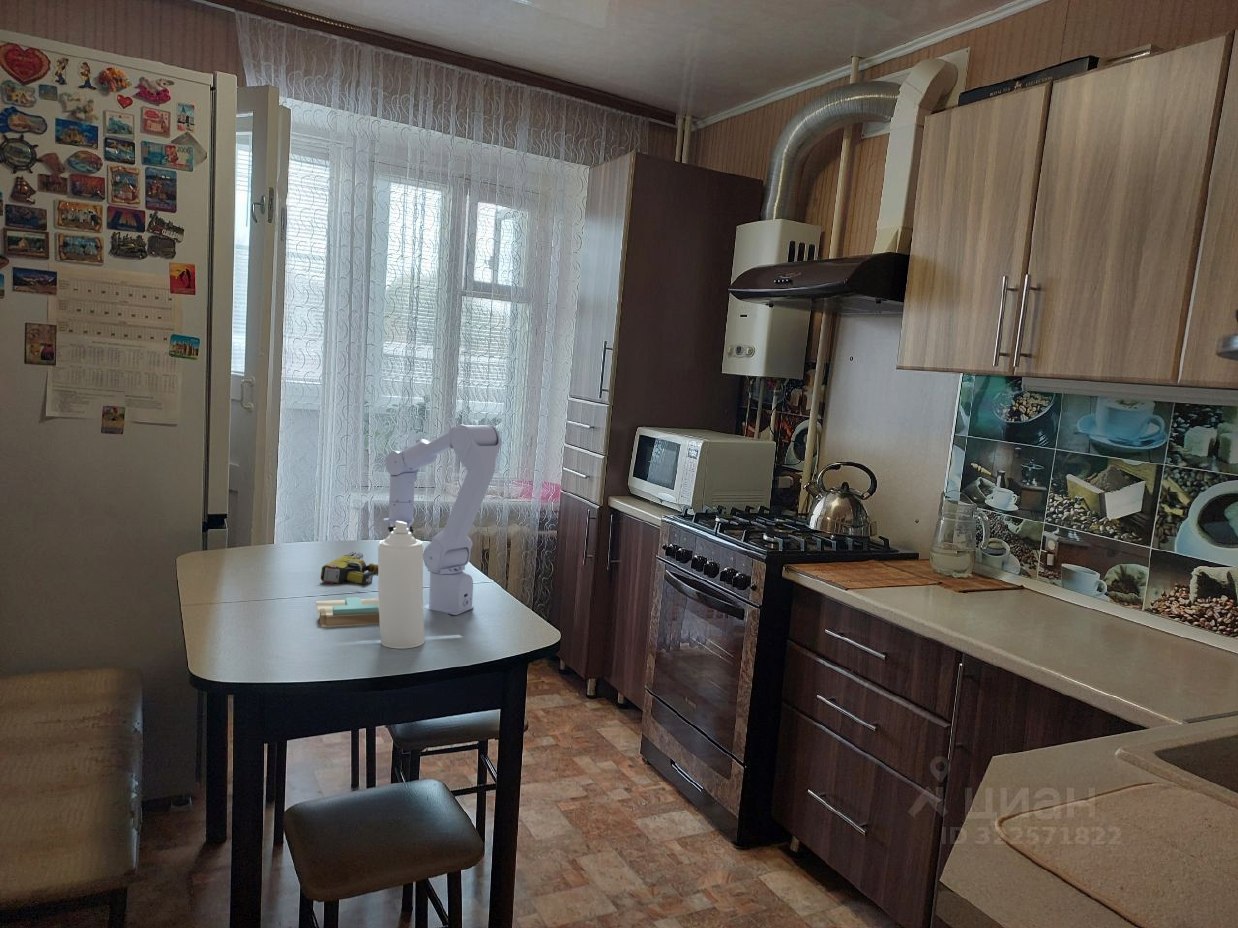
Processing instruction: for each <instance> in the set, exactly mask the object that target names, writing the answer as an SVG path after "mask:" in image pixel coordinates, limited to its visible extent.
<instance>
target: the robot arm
mask: <svg viewBox="0 0 1238 928" xmlns="http://www.w3.org/2000/svg"><path fill="white" fill-rule="evenodd" d="M502 443H503V442H502V440H501V437H500V433H499V431H498V429H497V428H496V427H495V426H494V425H492V424H485V425H480V424H479V425H477V424H476V425H475V424H473V425H470V424H469V425H468V424H467V425H465V424H458V425H456V426H454V427H450V428H449V430H448V431H446V432H444V433H442V434H441V435H439V436H438V437H436V438H434V439H432V440H428V439H424V438H418V439H416V440H415V443H414V444H412V445H405V446H404V447H403V449H402V450H400V451H399V450H391V451H389V452H388V454H387V455H386V457H385V463H384V465H385V469H386V472H387V473H388V474H389V498H388V499H389V500H388V501H389V502H388V517H387V518H385V517H384V518H383V520H382V521H383V522H384V523H388V524H392V525H394V526H387V530H388V531H389V533H390V532H392V531H393V529H394V528H395V523H396V521H402V522H405V523H407V528H408V529H409V532H411V533H412V534H413V533H414V531H415V530H414V528H413V526H412V525H413V524H414V523H415V519H414V511H415V510H414V506H415V505H414V504H415V483H416V481H417V479H418V473H419V472H420V469H422V468H424V467H426V466H428V465H431V464H433V463H434V462H436V460H437V458H438V455H440V454H443V453H446V452H448V451H450V450H453V451H454V452H455V454H456V456H457V458H458V460H459V461H460V464H461V465H462V466H463V467H464V468H466V471H467V472H466V475H465V477H464V478H463V482H462V484H461V487H460V489H459V492H458V494H457V496H456V498H455V500H454V501H455V502H454V503H453V506H452V509H451V510H450V514H449V516H448V519H447V521H446V523H445V525H444V528H443V529H442V530H441V531H440V532H438V533H437V534H435V535H434V536H433V537H432V538H431V540H430V542H429V544H428V545H426V547H424V549H423V565H424V566H425V567H426V569H427V571H428V572H429V594H428V603H427V604H425V605H423V609H427V610H433V611H438V612H443V613H447V614H448V615H451V616H458V615H460V614H462V613H465V612H467V611H470V610H472V609H474V607H475V605H473V597H474V596H473V594H474V580H473V576H471V575H470V574H468V573H465V572H464V571H465V569H466V566H467V564H468V563H470V559H471V551H472V550H471V549H472V547H473V545H474V544H473V541H472V540H471V538H470V537H469V533H470V532H471V530H472V527H473V524H474V521H475V519H476V517H477V515H478V512H479V509H480V507H481V505H482V503H483V501H484V499H485V496H486V494H487V492H488V489H489V486H490V484H491V482H492V479H493V478H494V477H493V476H494V473H495V470H496V460H497V456H498V454H499V451H500V449H501V447H502Z"/></svg>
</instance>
